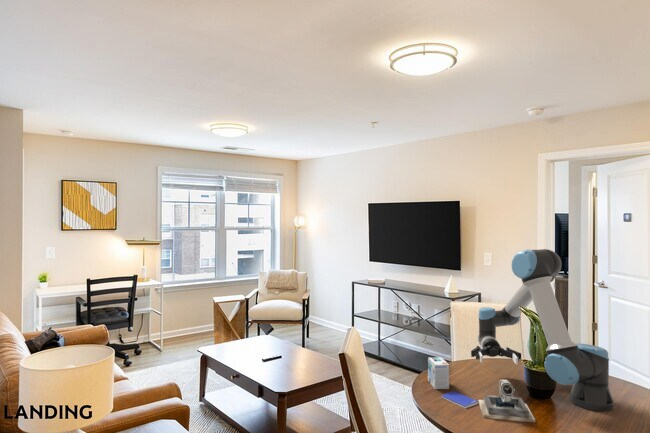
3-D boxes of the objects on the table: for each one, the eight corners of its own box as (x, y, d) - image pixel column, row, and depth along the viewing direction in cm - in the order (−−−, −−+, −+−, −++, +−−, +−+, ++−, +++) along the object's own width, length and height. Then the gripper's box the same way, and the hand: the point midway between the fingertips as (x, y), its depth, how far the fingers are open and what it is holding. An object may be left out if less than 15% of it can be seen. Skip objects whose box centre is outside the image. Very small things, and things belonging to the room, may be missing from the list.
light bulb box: (427, 380, 199) (427, 357, 199) (441, 380, 199) (441, 356, 199) (434, 389, 188) (434, 364, 188) (449, 389, 189) (449, 364, 189)
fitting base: (526, 406, 171) (526, 397, 171) (535, 422, 158) (535, 412, 158) (478, 402, 175) (478, 393, 175) (483, 417, 161) (483, 408, 161)
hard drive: (478, 400, 174) (454, 390, 184) (465, 405, 169) (441, 394, 180) (478, 404, 174) (454, 394, 184) (465, 409, 169) (441, 398, 180)
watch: (501, 413, 162) (501, 384, 163) (494, 404, 171) (494, 376, 171) (516, 414, 162) (516, 385, 162) (509, 405, 170) (509, 377, 170)
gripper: (520, 356, 195) (532, 371, 174) (462, 353, 200) (467, 367, 179) (519, 339, 195) (531, 352, 174) (462, 337, 200) (467, 349, 179)
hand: (499, 360), depth 177 cm, fingers open, 13 cm apart
